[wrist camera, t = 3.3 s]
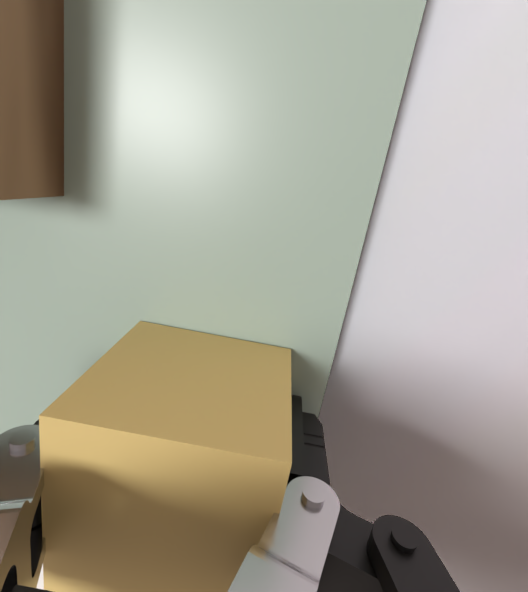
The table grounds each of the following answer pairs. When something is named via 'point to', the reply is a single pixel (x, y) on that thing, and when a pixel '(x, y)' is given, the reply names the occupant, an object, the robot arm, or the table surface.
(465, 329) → the table surface
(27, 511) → the robot arm
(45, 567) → the ochre cube
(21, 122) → the walnut base
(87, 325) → the build board
